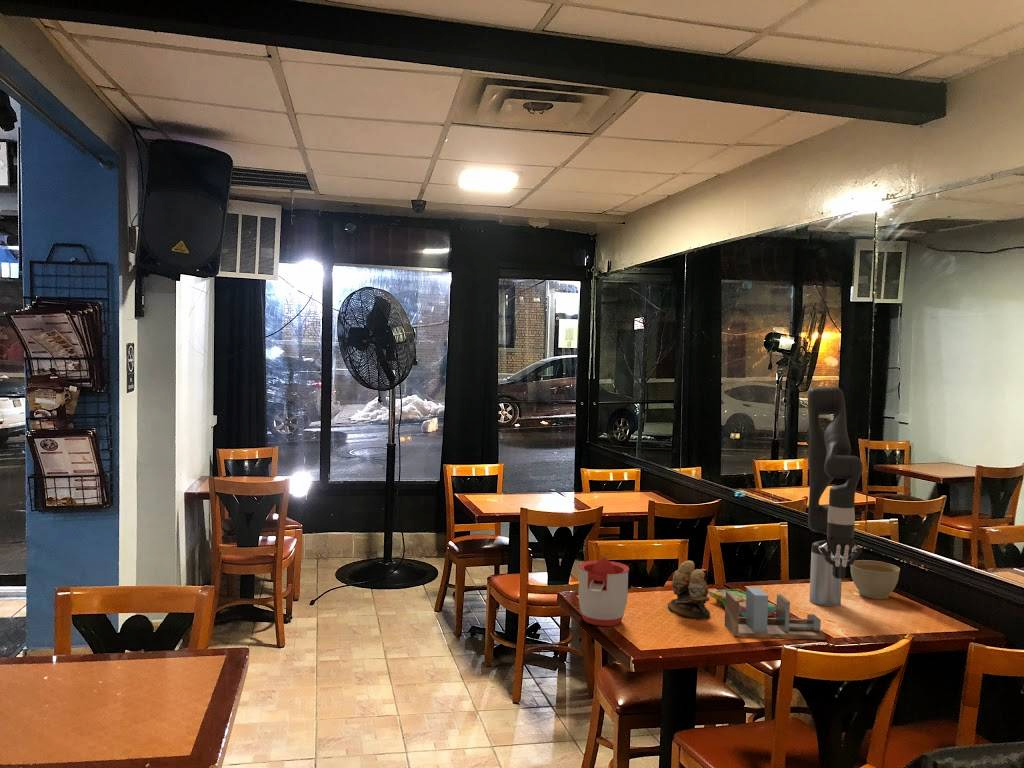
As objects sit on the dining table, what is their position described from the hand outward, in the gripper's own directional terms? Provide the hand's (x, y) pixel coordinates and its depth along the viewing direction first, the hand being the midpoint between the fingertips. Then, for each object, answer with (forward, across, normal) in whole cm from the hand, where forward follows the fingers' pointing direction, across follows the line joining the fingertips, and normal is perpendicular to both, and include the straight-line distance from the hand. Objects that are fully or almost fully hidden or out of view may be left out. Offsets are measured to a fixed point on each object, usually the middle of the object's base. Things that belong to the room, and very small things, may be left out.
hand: (838, 578), depth 228 cm
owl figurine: (+17, +40, -17) cm, 47 cm away
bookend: (+16, +12, 0) cm, 19 cm away
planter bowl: (+17, -32, -42) cm, 55 cm away
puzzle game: (+18, +22, -22) cm, 36 cm away
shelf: (+17, +19, 0) cm, 25 cm away
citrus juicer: (+17, +71, -5) cm, 73 cm away
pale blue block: (+16, +24, 0) cm, 29 cm away
